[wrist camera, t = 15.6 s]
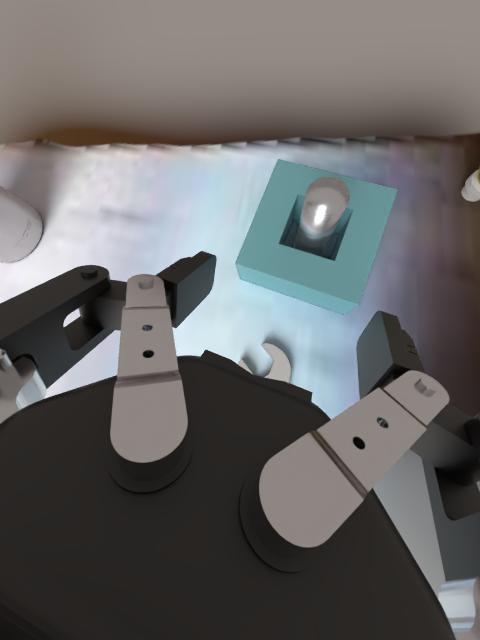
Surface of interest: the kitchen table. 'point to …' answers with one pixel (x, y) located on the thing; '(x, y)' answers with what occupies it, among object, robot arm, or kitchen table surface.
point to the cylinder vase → (413, 514)
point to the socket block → (304, 268)
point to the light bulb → (472, 187)
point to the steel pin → (321, 214)
